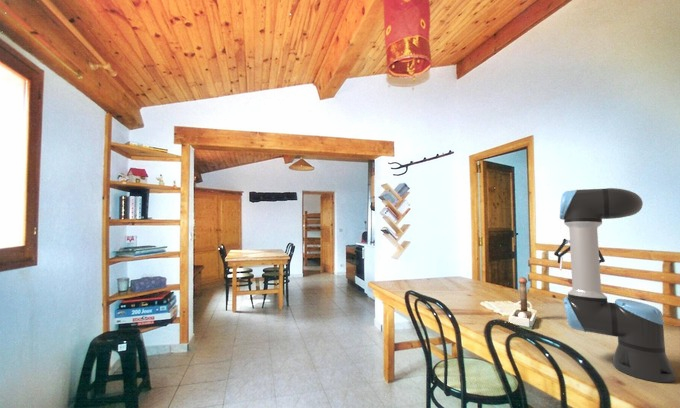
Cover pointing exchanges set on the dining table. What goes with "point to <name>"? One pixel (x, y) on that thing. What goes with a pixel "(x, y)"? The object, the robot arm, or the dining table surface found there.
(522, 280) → the brown upright rod
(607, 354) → the dining table surface
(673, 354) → the dining table surface
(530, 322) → the white open tray
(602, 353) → the dining table surface
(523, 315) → the ball
